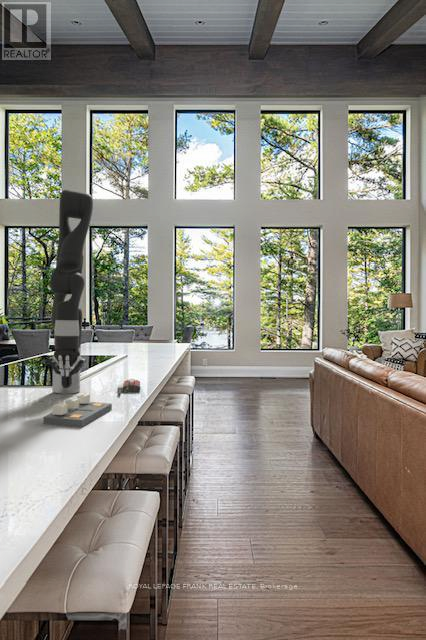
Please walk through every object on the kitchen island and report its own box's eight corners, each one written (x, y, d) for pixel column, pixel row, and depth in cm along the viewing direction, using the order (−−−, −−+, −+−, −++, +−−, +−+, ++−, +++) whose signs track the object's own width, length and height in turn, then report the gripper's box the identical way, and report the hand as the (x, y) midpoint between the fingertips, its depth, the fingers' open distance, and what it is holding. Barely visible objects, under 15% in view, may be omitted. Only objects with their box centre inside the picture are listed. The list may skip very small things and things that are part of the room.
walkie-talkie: (119, 387, 176) (116, 398, 156) (119, 376, 175) (116, 386, 156) (140, 386, 177) (140, 397, 157) (140, 376, 177) (140, 386, 157)
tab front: (52, 414, 121) (52, 404, 121) (58, 411, 124) (58, 402, 124) (62, 415, 121) (62, 405, 121) (67, 412, 124) (67, 403, 123)
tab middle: (65, 408, 128) (65, 399, 128) (70, 406, 131) (70, 397, 131) (74, 409, 128) (74, 399, 127) (79, 406, 130) (79, 397, 130)
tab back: (76, 403, 135) (76, 394, 135) (81, 400, 138) (81, 392, 138) (85, 403, 134) (85, 395, 134) (89, 401, 137) (89, 393, 137)
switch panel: (43, 423, 120) (43, 416, 120) (77, 407, 140) (77, 400, 140) (82, 427, 118) (82, 419, 118) (111, 409, 138) (111, 403, 138)
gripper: (41, 334, 134) (41, 388, 134) (80, 335, 132) (80, 390, 132) (54, 333, 141) (54, 384, 142) (91, 334, 139) (90, 386, 139)
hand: (66, 387), depth 137 cm, fingers closed
